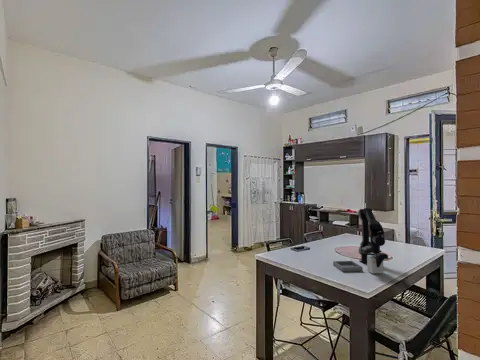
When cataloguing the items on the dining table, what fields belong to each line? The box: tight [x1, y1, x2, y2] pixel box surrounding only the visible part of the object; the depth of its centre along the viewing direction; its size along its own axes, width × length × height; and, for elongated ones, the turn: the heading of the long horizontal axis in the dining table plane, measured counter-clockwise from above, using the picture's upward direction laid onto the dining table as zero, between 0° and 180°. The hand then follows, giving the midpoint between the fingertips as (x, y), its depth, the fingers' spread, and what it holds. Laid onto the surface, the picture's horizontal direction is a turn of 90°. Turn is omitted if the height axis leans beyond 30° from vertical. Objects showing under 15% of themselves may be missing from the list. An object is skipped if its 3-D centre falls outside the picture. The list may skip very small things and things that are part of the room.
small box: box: [366, 255, 384, 274], centre depth 171 cm, size 8×6×10 cm
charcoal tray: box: [332, 260, 363, 273], centre depth 180 cm, size 14×14×3 cm
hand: (375, 265), depth 171 cm, fingers closed on small box, 6 cm apart
